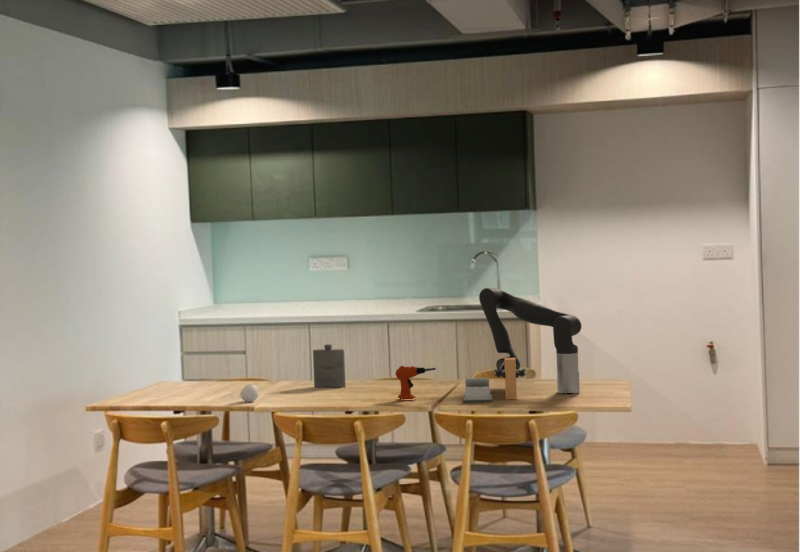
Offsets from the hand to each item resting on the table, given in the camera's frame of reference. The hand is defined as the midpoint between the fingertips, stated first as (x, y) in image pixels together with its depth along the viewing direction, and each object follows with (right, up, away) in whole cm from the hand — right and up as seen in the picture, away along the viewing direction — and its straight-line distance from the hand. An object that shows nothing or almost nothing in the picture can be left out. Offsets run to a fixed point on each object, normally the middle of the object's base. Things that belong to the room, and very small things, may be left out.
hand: (510, 375), depth 445 cm
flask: (-79, -11, +54) cm, 96 cm away
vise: (-14, -10, +4) cm, 18 cm away
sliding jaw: (-13, -9, +9) cm, 18 cm away
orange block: (0, -10, +3) cm, 11 cm away
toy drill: (-39, -11, +9) cm, 42 cm away
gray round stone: (-112, -13, +19) cm, 114 cm away
